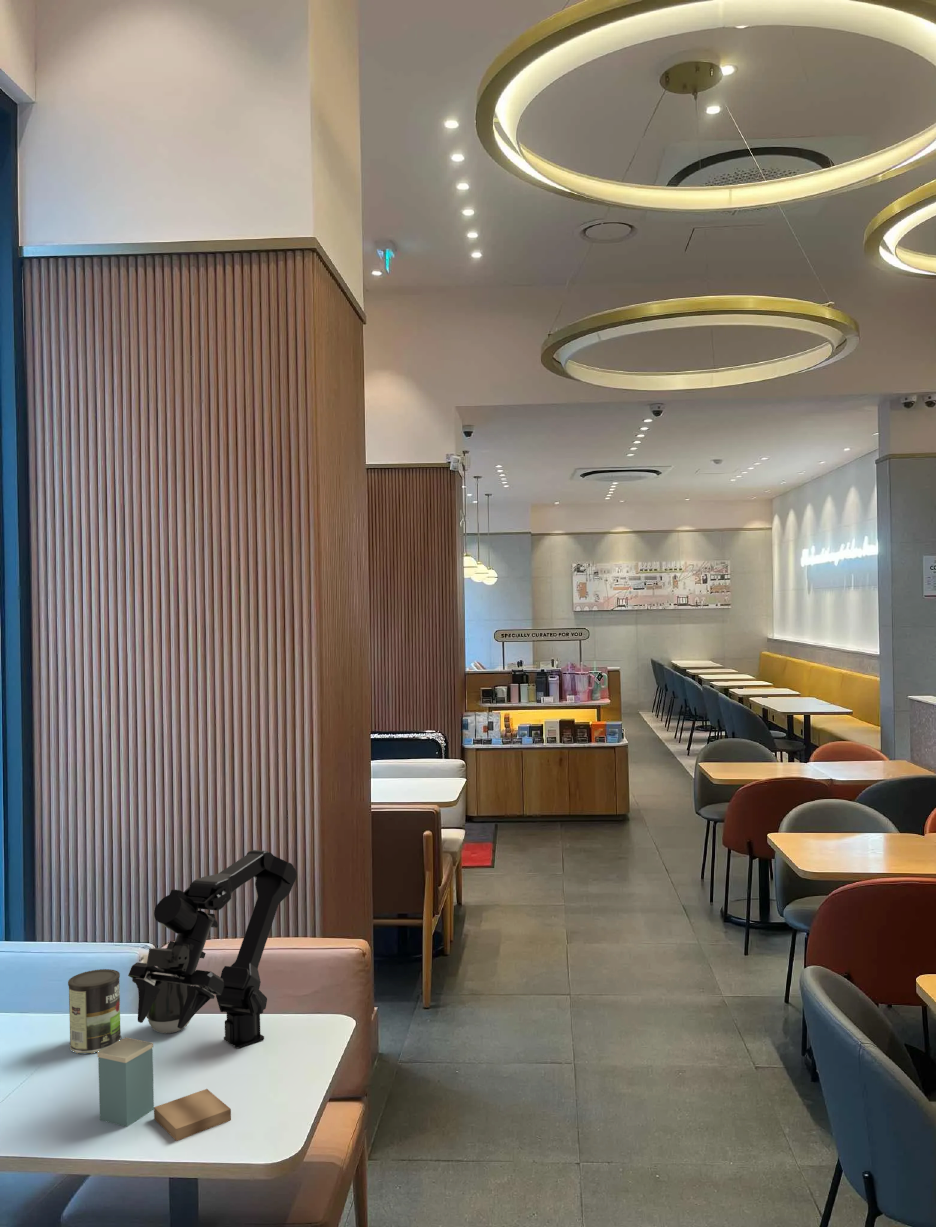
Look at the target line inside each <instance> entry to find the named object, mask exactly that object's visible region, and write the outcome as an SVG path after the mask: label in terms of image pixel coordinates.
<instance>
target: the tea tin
mask: <svg viewBox="0 0 936 1227" xmlns="http://www.w3.org/2000/svg"><path fill="white" fill-rule="evenodd" d="M153 1048H154V1043H153V1042H150V1041H144V1040H141V1039H135V1038H130V1037H124V1038H121V1040H120V1041H118V1042H116V1043H114V1044H112V1045H110V1046H109V1047H107V1048H105V1049H103V1050H101V1051H99V1052H97V1058H98V1098H99V1099H98V1100H99V1103H98V1104H99V1120H100V1121H101V1122H106V1121H107V1122H106V1123H110V1124H114V1125H118V1126H122V1127H126V1128H128V1127H129V1126H131V1125H132V1124H134V1123H135V1122H137V1121H138V1120H140V1119H142V1118H143V1117H144V1116H146V1115H148V1114H149V1113H151V1112H152V1111H154V1107H155V1098H154V1061H153V1060H154V1059H153V1058H154V1057H153V1056H154V1055H153Z"/></svg>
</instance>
